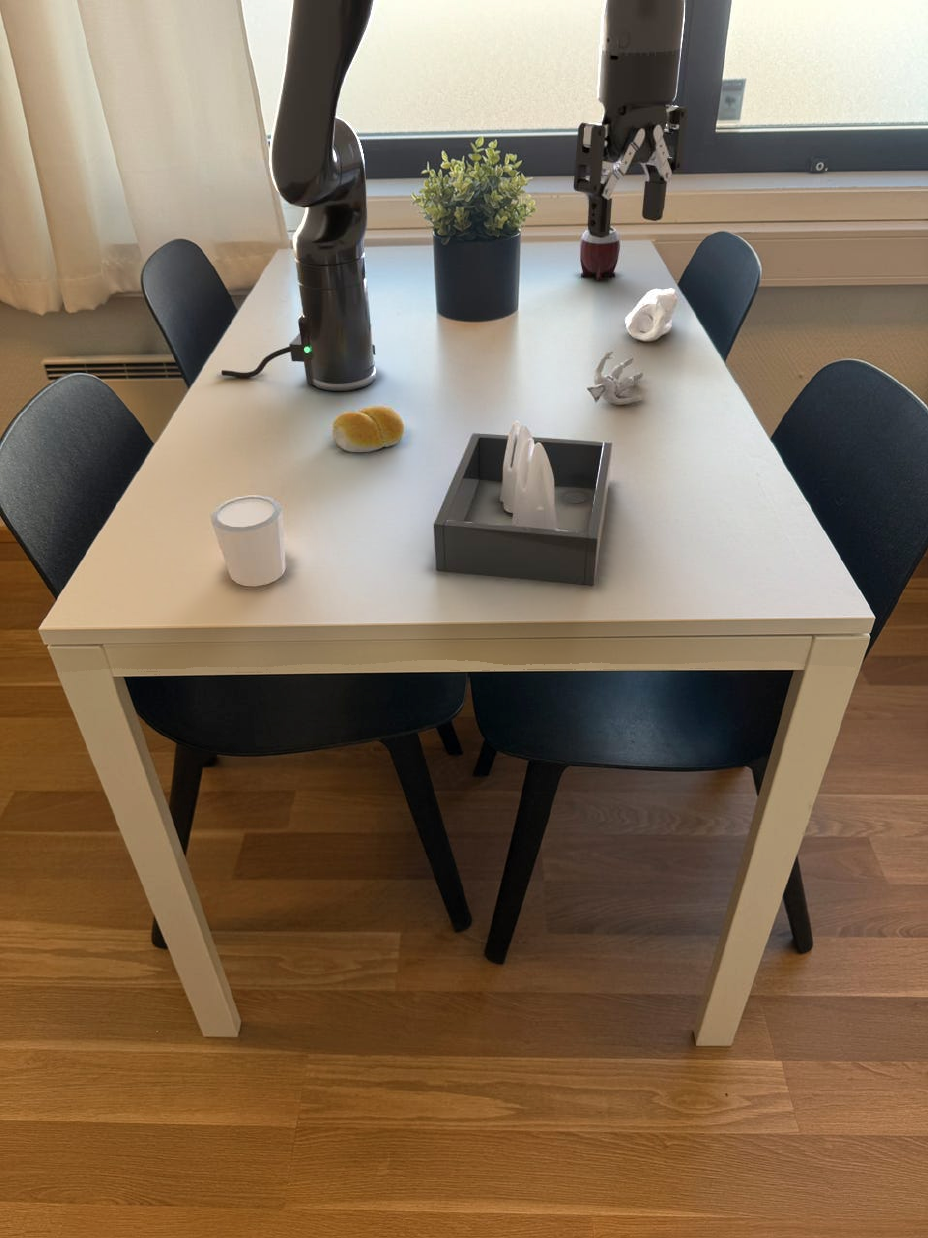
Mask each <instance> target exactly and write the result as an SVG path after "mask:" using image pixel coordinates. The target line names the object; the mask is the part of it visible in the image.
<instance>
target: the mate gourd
mask: <svg viewBox="0 0 928 1238" xmlns="http://www.w3.org/2000/svg"><path fill="white" fill-rule="evenodd" d="M583 194H584V196H585V197H586V203H587V205H589V197H588V195H587V194H585V193H583ZM620 250H621V241H620V236H619V234H618V231H617V230H616V229H615V228H614V227H612V226H610V233H609V235H608V236H607V237H604V238H599V237H595V236H592V235H590V233H589V230H588V228H586V229H585V231H584V232H583V234H582V235H581V240H580V245H579V261H580V266H581V271H582V272H581V273H580V277H582V278H584V277H585V278H586V277H589V278H590V277H595V278H596V281H597V282H602V281H603V277H615V276H616V270H615V269H616V267H617V264H618V261H619V257H620V256H619V254H620Z"/></svg>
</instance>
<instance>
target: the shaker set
mask: <svg viewBox="0 0 928 1238" xmlns="http://www.w3.org/2000/svg"><path fill="white" fill-rule="evenodd" d="M508 435H509V437H508V442H507V447H506V452H505V458H504V464H503V481H501V489H500V490H501V491H500V497H499V498H500V499H499V501H500V502H502V503H503V505H502V506H503V510H505V511H506V512H507V513H511V514H512V519H511V524H512V525H513V526H518V527H530V528H541V529H553V530H560V529H559V522H558V517H557V511H556V506H555V485H554V477H553V473H552V469H551V465H550V462H549V459H548V457H547V454H546V452H545V449H544V447H543V446H542V444H541V443H536V444H534V440H533V438H532V437H533V436H532V434H531V432H530V430H529V428H528V426H527V425H525V424H523V425H521V424H520V421H514V422H513V423H512V424H511V427H510V429H509V432H508Z"/></svg>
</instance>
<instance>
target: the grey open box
mask: <svg viewBox="0 0 928 1238" xmlns="http://www.w3.org/2000/svg"><path fill="white" fill-rule="evenodd" d="M508 437H509V434H508V435H507V434H495V433H494V434H493V433H478V432H472V433H471V436H470V438H469V440H468V443H467V445H466V447H465V449H464V452H463V454H462V457H461V459H460V462H459V464H458V466H457V468H456V470H455V473H454V475H453V478H452V479H451V483H450V485H449V487H448V489H447V492H446V494H445V496H444V499H443V501H442V503H441V506H440V507H439V511H438V513H437V515H436V518H435V520H434V522H433V540H434V541H433V542H434V558H435V570H436V571H442V572H452V573H463V574H471V575H472V574H473V575H480V576H481V575H482V576H483V575H484V576H492V577H502V578H513V579H522V580H523V579H524V580H534V581H544V582H554V583H555V582H556V583H563V584H564V583H566V584H576V585H584V586H585V585H586V586H594V585H595V580H596V575H597V567H598V561H599V554H600V547H601V542H602V541H601V540H602V534H603V528H604V527H603V526H604V522H605V521H604V520H605V513H606V507H607V500H608V499H607V498H608V493H609V486H610V475H611V465H612V463H611V462H612V453H613V452H612V451H613V442H607V441H596V440H595V441H594V440H582V439H568V438H567V439H565V438H552V437H551V438H550V437H537V436H532V438H533V440H534V444H536V443H541V444H542V446H543V447H544V449H545V452H546V454H547V457H548V459H549V462H550V465H551V469H552V473H553V477H554V486H557V487H569V488H583V489H595V491H594V494H593V495H594V496H593V501H592V507H591V514H590V519H589V526H588V532H586V531H576V530H575V531H574V530H563V529H559V530H553V529H541V528H530V527H518V526H515V525H507V524H506V525H505V524H495V523H494V524H493V523H482V522H472V521H471V522H470V521H465V520H466V517H467V514H468V511H469V509H470V507H471V504H472V501H473V498H474V496H475V493H476V491H477V488H478V485H479V482H480V480H482V481H494V482H503V464H504V458H505V452H506V447H507V442H508ZM564 500H565V501H566V502H567V503H568V504H569V503H570V504H573V505H578V504H582V503H584V502H586V500H587V497H586V495H585V494H584V493H582V492H577V491H572V492H569V493H567V494H565V495H564Z"/></svg>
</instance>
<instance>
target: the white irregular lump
mask: <svg viewBox="0 0 928 1238" xmlns="http://www.w3.org/2000/svg"><path fill="white" fill-rule="evenodd" d="M678 300H679V299H678V293H677V291H676V290H675V289H674V288H672V287H671V288H668V289H660V288H655V289H651V290H649V291H647V293H646V294H645V295H644V296H643V297H642V298H641V299H640V301H639V302H637V304H636V306H635V307H634V309H633V310H632V311H631V312H630V313H628V315H626V317H625V319H624V323H625V326H626V328H625V329H626V330H627V332H628V334H629V335H630V336H631V337H632V338H633V339H635V340H638V341H642V342H646V343H647V342H653V341H656V340H658V339H659V338H660V337H661V336H663V335H666V334H667V333H669V332H670V331H671V329H672V325H673V321H672V319H673V314H674V312H675V309H676V307H677V303H678Z"/></svg>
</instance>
